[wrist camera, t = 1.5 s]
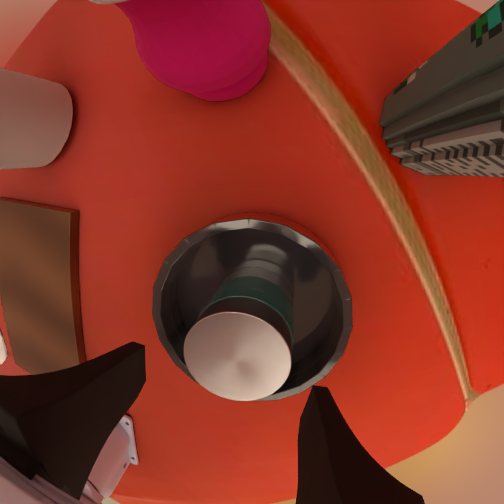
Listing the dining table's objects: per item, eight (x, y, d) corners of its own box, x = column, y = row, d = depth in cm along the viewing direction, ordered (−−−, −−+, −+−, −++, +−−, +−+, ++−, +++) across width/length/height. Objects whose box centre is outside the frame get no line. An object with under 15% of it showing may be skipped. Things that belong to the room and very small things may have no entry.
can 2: (463, 108, 15) (621, 61, 1) (448, 185, 17) (630, 217, 3) (390, 73, 16) (513, -55, 1) (371, 153, 17) (542, 107, 3)
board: (93, 399, 26) (87, 405, 25) (21, 359, 27) (15, 364, 26) (79, 210, 21) (70, 212, 20) (2, 197, 22) (-6, 198, 21)
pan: (318, 384, 22) (320, 413, 18) (168, 351, 23) (151, 375, 20) (363, 232, 19) (377, 243, 15) (181, 198, 20) (160, 202, 16)
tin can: (284, 344, 21) (279, 410, 14) (212, 328, 21) (180, 387, 14) (301, 275, 19) (304, 324, 13) (221, 259, 20) (186, 298, 13)
